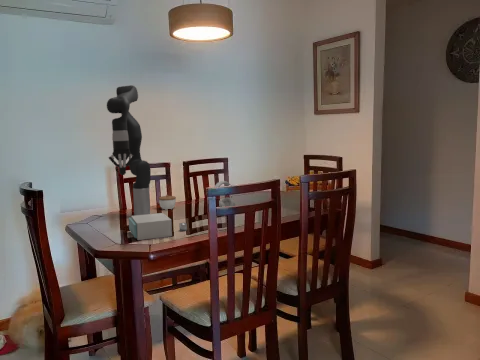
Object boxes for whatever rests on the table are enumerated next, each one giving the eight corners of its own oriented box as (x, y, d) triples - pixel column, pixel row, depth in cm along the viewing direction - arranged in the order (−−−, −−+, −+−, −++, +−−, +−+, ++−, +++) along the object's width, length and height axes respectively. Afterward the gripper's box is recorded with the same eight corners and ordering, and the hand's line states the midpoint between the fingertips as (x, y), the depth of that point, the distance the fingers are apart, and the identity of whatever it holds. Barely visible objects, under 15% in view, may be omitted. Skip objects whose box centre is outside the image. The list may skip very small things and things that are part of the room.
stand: (178, 229, 205) (178, 223, 204) (185, 229, 206) (185, 222, 206) (180, 231, 202) (180, 224, 201) (187, 230, 203) (187, 223, 202)
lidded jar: (157, 208, 262) (156, 194, 261) (172, 206, 267) (172, 192, 266) (162, 211, 253) (161, 196, 252) (178, 209, 258) (178, 195, 257)
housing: (131, 231, 203) (131, 215, 202) (163, 228, 209) (162, 212, 208) (137, 240, 186) (137, 223, 185) (171, 236, 193) (171, 219, 192)
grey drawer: (129, 229, 202) (128, 217, 201) (160, 226, 208) (159, 214, 207) (134, 237, 186) (134, 224, 185) (168, 233, 192) (167, 221, 191)
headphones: (219, 218, 231) (219, 183, 228) (207, 216, 236) (206, 182, 234) (238, 212, 246) (238, 180, 244) (226, 211, 251) (226, 179, 249)
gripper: (107, 140, 192) (110, 176, 195) (135, 139, 198) (137, 174, 200) (105, 140, 199) (108, 175, 201) (133, 139, 204) (135, 173, 207)
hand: (122, 174), depth 201 cm, fingers closed
